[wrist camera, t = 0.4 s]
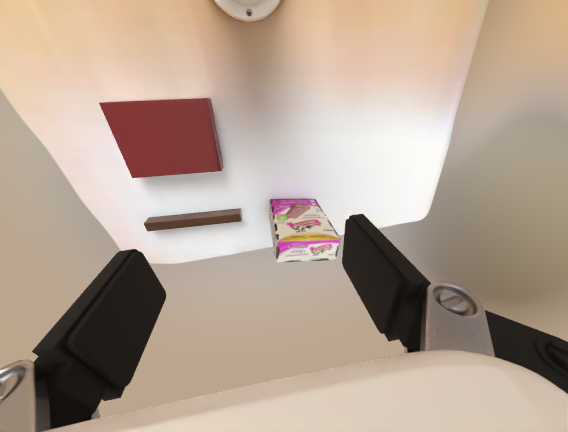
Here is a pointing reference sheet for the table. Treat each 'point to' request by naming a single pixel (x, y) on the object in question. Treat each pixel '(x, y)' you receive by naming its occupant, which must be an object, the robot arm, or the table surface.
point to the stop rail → (193, 219)
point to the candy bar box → (301, 231)
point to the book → (165, 136)
